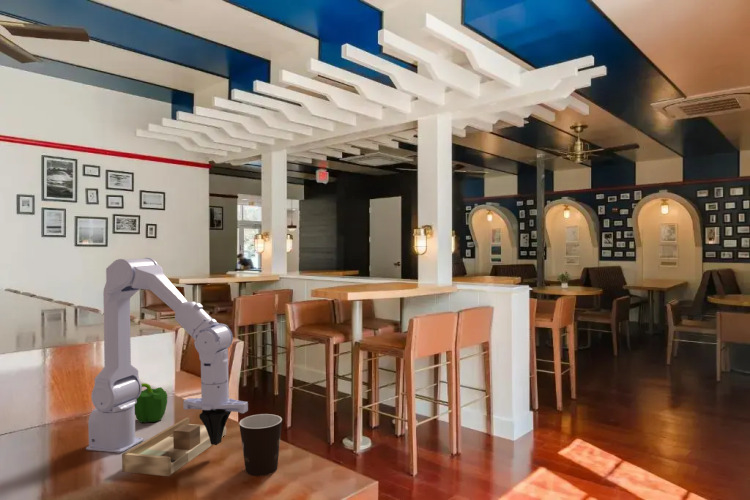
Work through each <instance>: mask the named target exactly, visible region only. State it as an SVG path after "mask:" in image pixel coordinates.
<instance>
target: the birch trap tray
mask: <svg viewBox="0 0 750 500" xmlns="http://www.w3.org/2000/svg"><path fill="white" fill-rule="evenodd" d="M190 419H191V418H190V417H185V418H183V419H181V420H179V421H178V422H176V423H174V424H172V425H171V426H168V427H167V428H165V429H164V430H162V431H160V432H158V433H157V434H155V435H154V436H151V437H150V438H149V439H146V440H145V441H144V440H143V441H142V442H140V443H138V445H137V444H136V445H135V446H133V447H131V448H129V449H128V450H126V452H125V451H124V452H122V454H121V465H122V466H121V467H122V468H121V470H122V472H124V473H134V474H141V475H151V476H162V477H170V476H171V475H172V474H173V473H175V472H176V471H178V470H179V469H181V468H182V467H184V466H185V465H186V464H188V463H189V462H191V461H192V460H193V459H195V458H197V457H198V456H199V455H201V454H202V453H203V452H205V451H206V450H207V449H209V448H210V447H211V446H213V445H211V442H210V438H209V435H208V432H207V430H206V427H205V425H204V424H199V425H200V444H198V445H197V446H195V447H194V448H193V449H191V450H182V449H174V441H173V430H175V429H177V428H179V427H180V426H182V425H184V424H187V425H197V424H194V423H193V424H192V423H190ZM224 435H225V436H227V426H225V427H224V430H223V435H222V437H223V436H224ZM225 436H224V437H225ZM224 437H223V438H224Z"/></svg>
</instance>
